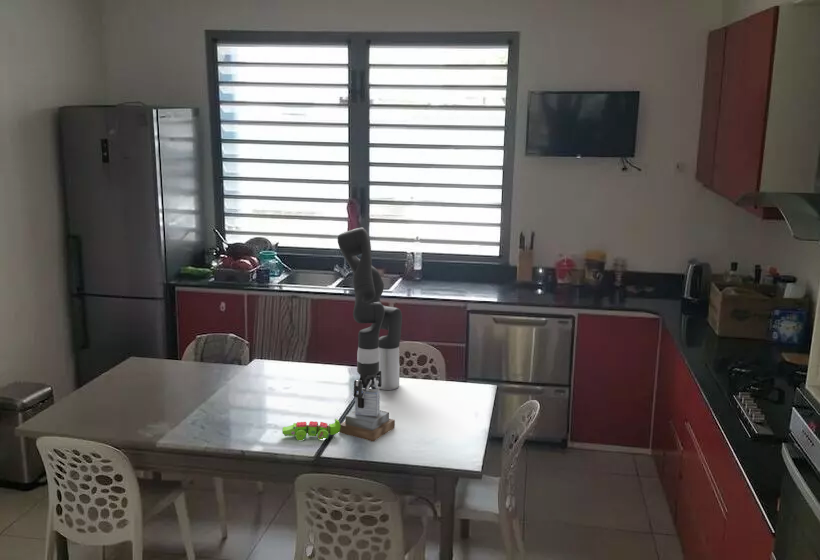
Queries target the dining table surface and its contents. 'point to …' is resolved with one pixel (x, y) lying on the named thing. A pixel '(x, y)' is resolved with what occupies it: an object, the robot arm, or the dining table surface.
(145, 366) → the dining table surface
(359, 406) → the robot arm
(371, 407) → the medicine box
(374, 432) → the brown gray stepped block
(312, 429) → the toy crocodile
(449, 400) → the dining table surface
